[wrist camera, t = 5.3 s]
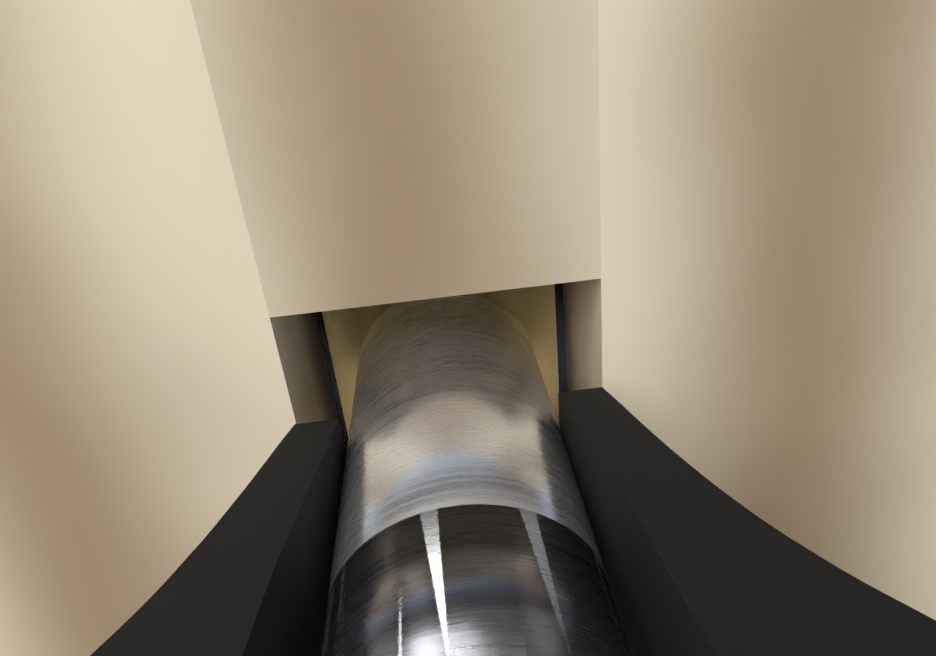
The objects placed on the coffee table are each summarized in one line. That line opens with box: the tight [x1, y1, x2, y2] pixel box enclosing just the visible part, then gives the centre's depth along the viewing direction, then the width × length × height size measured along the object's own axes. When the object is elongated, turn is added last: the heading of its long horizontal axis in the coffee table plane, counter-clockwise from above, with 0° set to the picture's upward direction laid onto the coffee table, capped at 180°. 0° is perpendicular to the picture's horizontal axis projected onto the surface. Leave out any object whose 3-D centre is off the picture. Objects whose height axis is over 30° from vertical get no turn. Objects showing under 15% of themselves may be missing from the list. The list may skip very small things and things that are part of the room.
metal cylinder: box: [320, 293, 633, 656], centre depth 9 cm, size 3×3×7 cm
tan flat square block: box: [322, 284, 560, 438], centre depth 13 cm, size 4×4×1 cm
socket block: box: [0, 0, 936, 656], centre depth 12 cm, size 18×14×3 cm
